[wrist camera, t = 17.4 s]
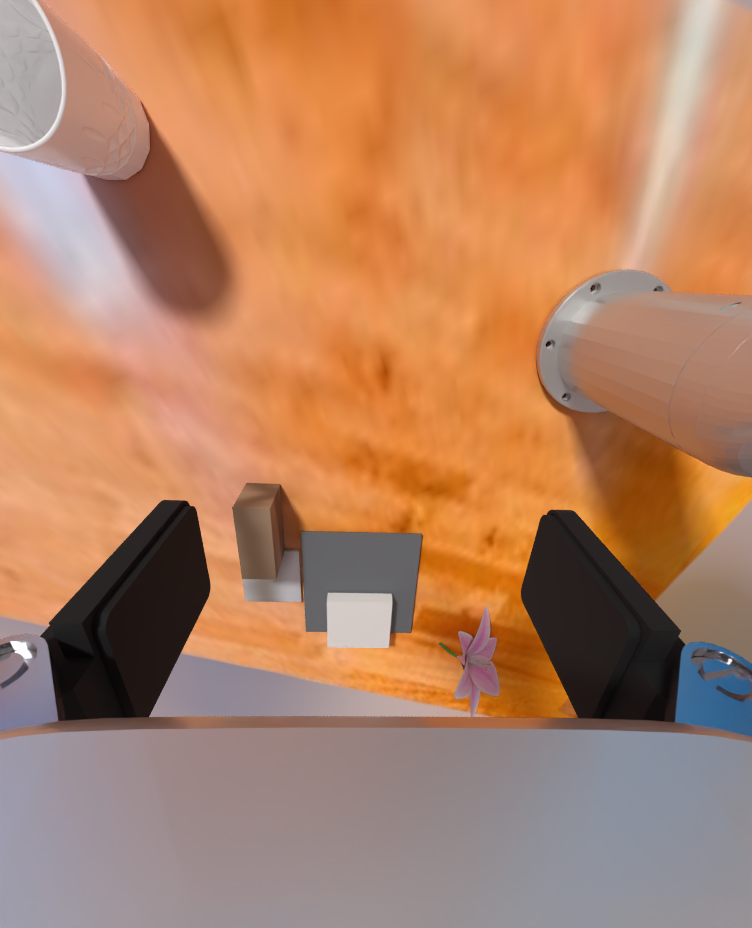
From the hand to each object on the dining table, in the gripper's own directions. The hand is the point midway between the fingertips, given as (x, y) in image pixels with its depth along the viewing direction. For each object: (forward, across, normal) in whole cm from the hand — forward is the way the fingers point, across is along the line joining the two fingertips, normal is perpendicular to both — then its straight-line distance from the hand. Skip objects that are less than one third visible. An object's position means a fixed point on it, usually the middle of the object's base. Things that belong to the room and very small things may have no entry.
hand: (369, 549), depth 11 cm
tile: (+27, 0, +29) cm, 39 cm away
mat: (+28, 0, +28) cm, 40 cm away
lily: (+29, -15, +36) cm, 49 cm away
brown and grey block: (+28, +11, +22) cm, 38 cm away
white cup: (+28, +20, -16) cm, 38 cm away
